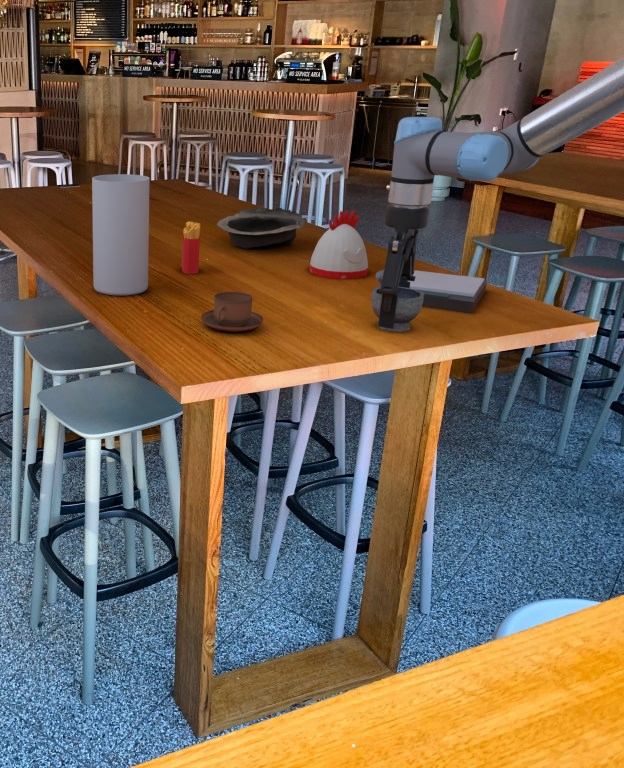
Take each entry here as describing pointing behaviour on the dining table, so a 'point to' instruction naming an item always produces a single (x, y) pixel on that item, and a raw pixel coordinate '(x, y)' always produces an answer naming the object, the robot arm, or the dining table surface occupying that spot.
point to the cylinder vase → (120, 234)
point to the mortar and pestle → (399, 305)
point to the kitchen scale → (449, 290)
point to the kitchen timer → (340, 250)
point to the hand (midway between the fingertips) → (392, 319)
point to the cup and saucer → (232, 313)
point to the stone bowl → (262, 227)
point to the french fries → (190, 248)
